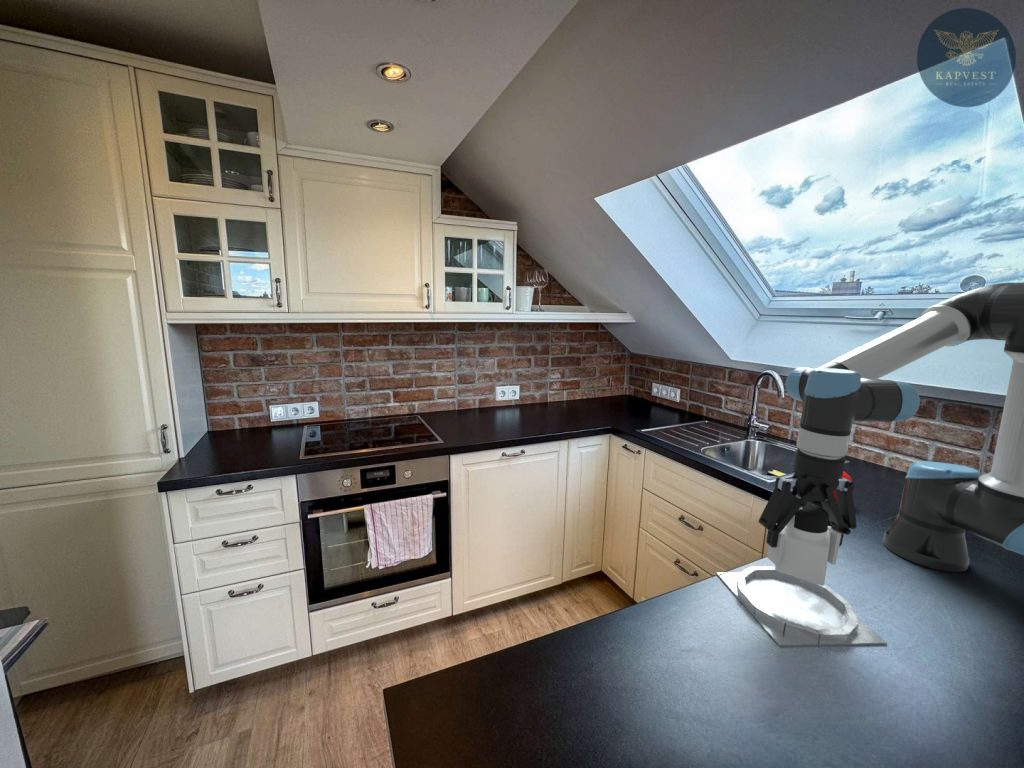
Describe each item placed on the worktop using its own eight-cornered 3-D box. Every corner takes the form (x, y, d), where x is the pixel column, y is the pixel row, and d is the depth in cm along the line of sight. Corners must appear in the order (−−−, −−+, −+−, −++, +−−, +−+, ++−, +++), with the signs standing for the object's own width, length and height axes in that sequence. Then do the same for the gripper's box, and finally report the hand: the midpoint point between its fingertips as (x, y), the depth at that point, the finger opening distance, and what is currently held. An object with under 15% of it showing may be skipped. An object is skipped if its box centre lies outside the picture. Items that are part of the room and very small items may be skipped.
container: (826, 566, 82) (834, 505, 80) (823, 587, 76) (832, 521, 74) (780, 552, 87) (786, 494, 85) (774, 571, 81) (781, 508, 79)
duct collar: (802, 573, 94) (803, 565, 93) (886, 644, 74) (889, 634, 74) (716, 574, 92) (717, 565, 92) (779, 647, 73) (781, 637, 72)
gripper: (860, 446, 82) (839, 548, 86) (747, 445, 80) (732, 550, 84) (897, 460, 74) (873, 571, 79) (774, 459, 73) (756, 573, 77)
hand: (800, 560), depth 81 cm, fingers closed on container, 11 cm apart
